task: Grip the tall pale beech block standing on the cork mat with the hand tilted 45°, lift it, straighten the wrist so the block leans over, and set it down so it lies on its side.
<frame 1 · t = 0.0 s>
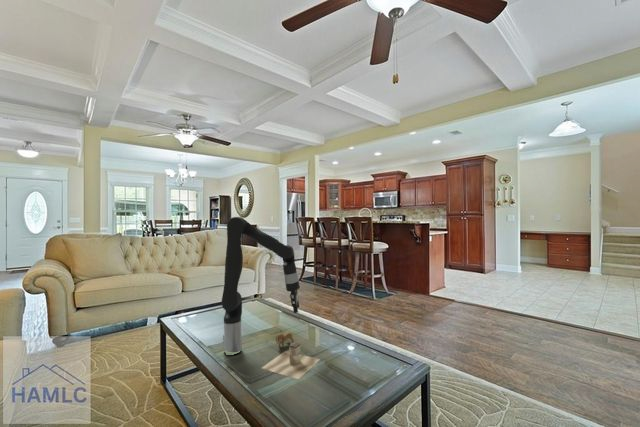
hand: (296, 310, 160), 22 cm above the table, tool pointing down, fingers open, 8 cm apart
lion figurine: (285, 346, 165), on the table
beech block: (295, 362, 146), resting on cork mat
cork mat: (291, 364, 144), on the table
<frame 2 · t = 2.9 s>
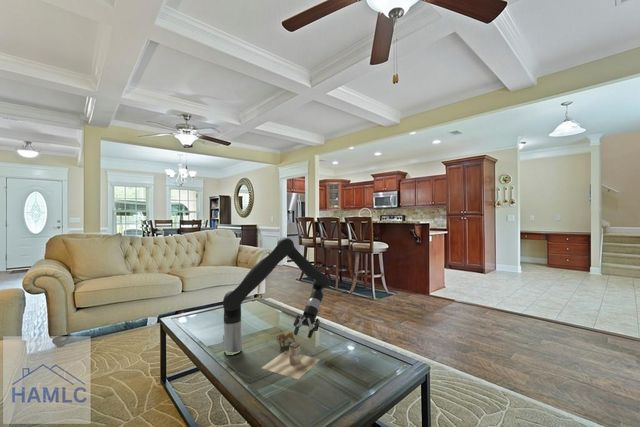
hand: (301, 336, 152), 11 cm above the table, tool tilted 45°, fingers open, 8 cm apart
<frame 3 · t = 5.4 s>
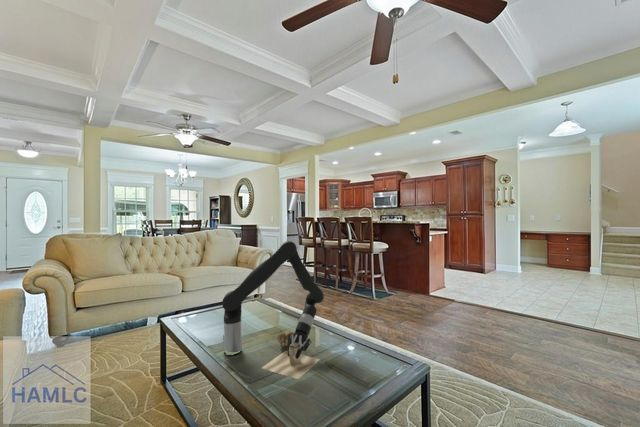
hand: (292, 357, 144), 4 cm above the table, tool tilted 45°, fingers closed on beech block, 4 cm apart
beech block: (295, 362, 146), point 1 cm above the table, touching cork mat, gripper
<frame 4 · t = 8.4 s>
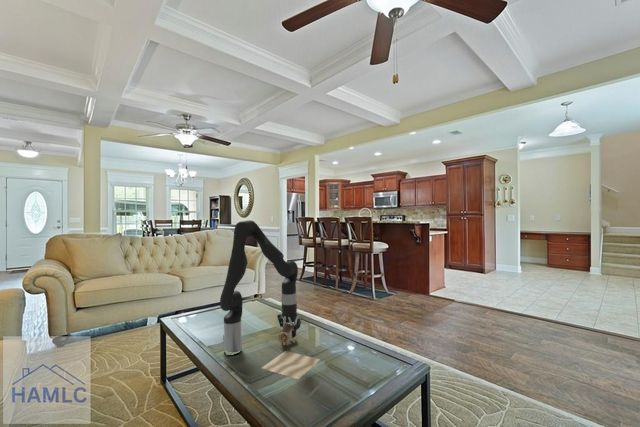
hand: (290, 336, 143), 15 cm above the table, tool pointing down, fingers closed on beech block, 4 cm apart
beech block: (294, 335, 146), point 14 cm above the table, tilted 45°, touching gripper
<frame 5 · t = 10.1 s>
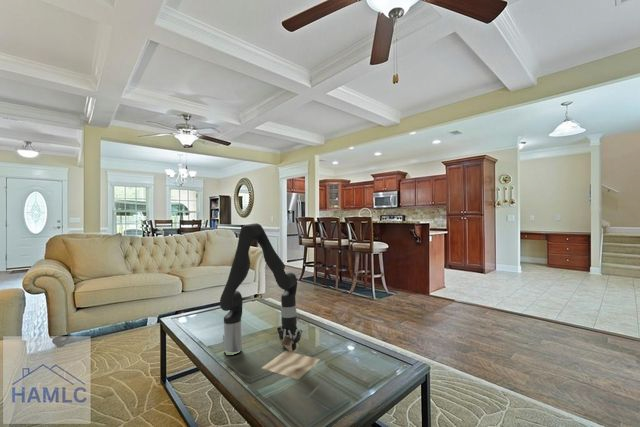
hand: (290, 349, 142), 9 cm above the table, tool pointing down, fingers closed on beech block, 4 cm apart
beech block: (294, 348, 145), point 8 cm above the table, tilted 45°, touching gripper
when the fingers open (5 cm above the table, at t = 11.2 s): beech block moves 2 cm and tips over, resting on cork mat.
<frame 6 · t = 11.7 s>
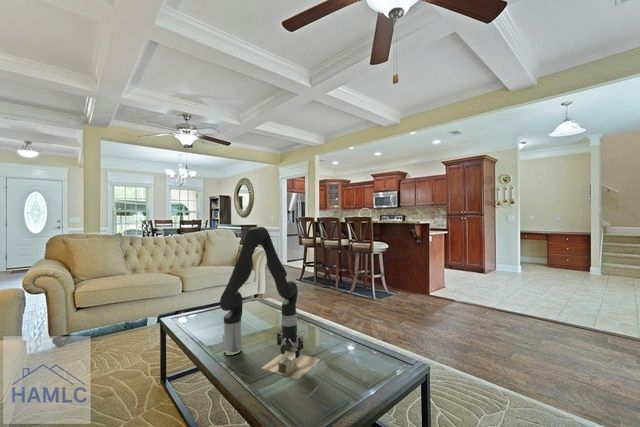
hand: (290, 355, 142), 6 cm above the table, tool pointing down, fingers open, 8 cm apart
beech block: (292, 359, 144), point 2 cm above the table, tilted 90°, touching cork mat
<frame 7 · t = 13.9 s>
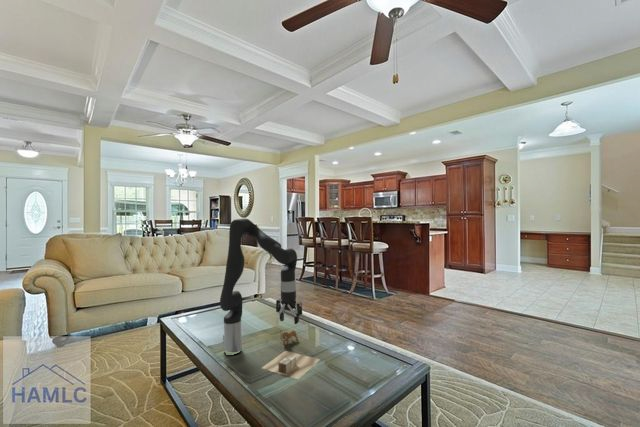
hand: (289, 322, 142), 22 cm above the table, tool pointing down, fingers open, 8 cm apart
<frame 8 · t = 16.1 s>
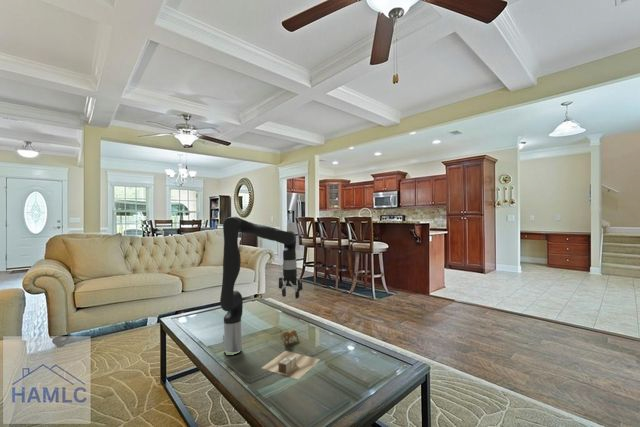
hand: (290, 297, 157), 30 cm above the table, tool pointing down, fingers open, 8 cm apart
at the end: beech block tilted 90°; beech block inside the target area (2.5 cm from its centre), point 2.5 cm above the table; the gripper is holding nothing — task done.
